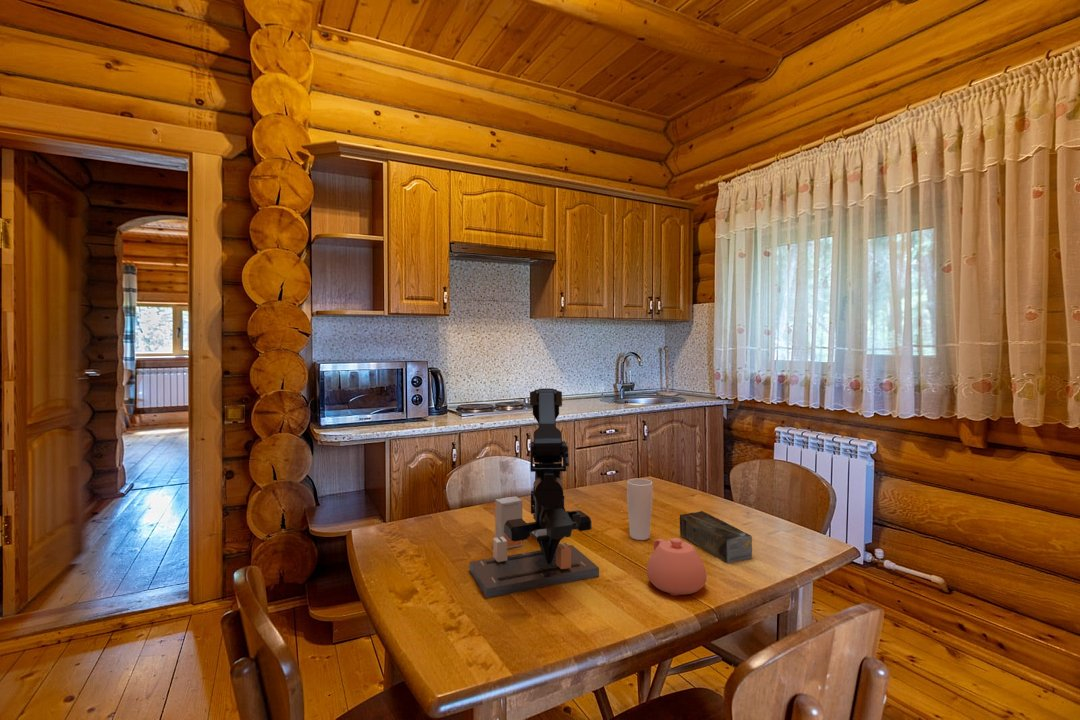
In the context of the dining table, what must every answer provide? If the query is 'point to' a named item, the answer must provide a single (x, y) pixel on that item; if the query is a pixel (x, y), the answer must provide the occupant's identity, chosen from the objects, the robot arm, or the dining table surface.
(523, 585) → the console
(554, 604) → the dining table surface
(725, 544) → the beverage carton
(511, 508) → the skincare box
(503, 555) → the white fader
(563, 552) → the orange fader
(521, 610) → the dining table surface
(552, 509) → the robot arm
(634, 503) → the drinking glass
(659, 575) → the pink teapot
